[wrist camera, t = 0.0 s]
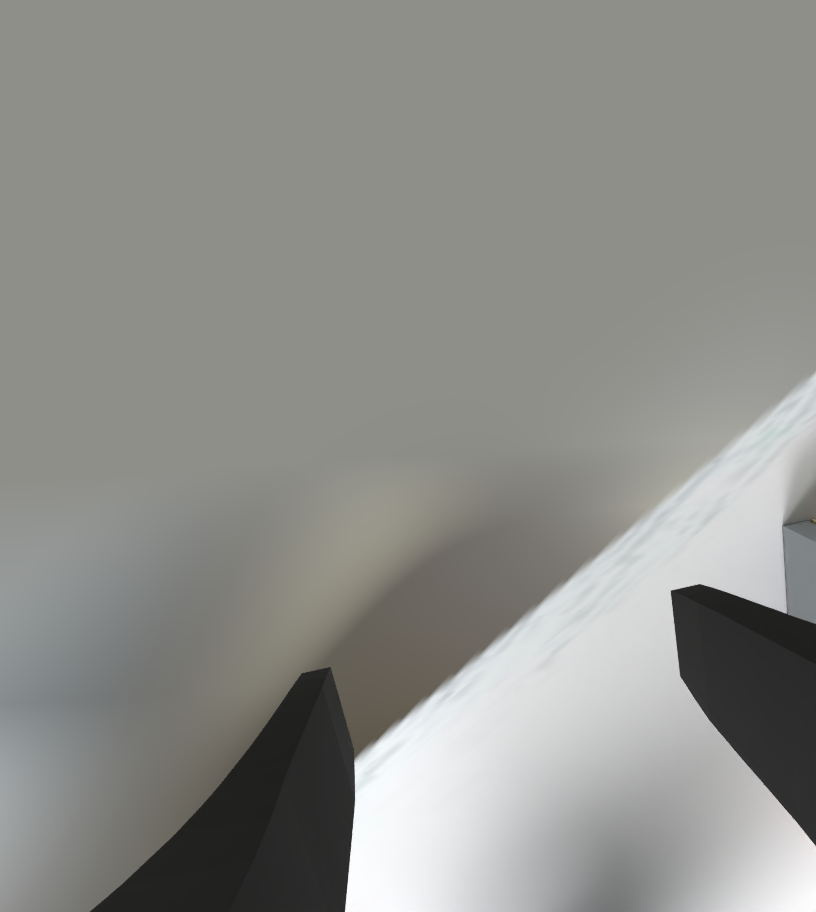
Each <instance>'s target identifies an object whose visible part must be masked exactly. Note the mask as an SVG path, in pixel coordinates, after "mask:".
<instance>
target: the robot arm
mask: <svg viewBox="0 0 816 912" xmlns="http://www.w3.org/2000/svg"><path fill="white" fill-rule="evenodd" d="M671 597H672V606H673V615H674V624H675V633H676V642H677V651H678V660H679V669H680V676H681V678H682V679H683V681H684V683H685V684H686V686H687V687H688V689H689V690H690V692H691V693H692V695H693V697H694V698H695V700H696V701H697V703H698V704H699V706H700V707H701V708H702V710H703V711H704V713H705V714H706V716H707V717H708V719H709V720H710V721H711V723H712V724H713V725H714V726H715V727H716V729H717V730H718V731H719V732H720V733H721V735H722V736H723V737H724V738H725V739H726V740H727V742H728V743H729V744H730V745H731V746H732V747H733V749H734V750H735V751H736V752H737V753H738V755H739V756H740V757H741V758H742V759H743V760H744V761H745V763H746V764H747V765H748V766H749V767H750V768H751V770H752V771H753V772H754V773H755V774H756V775H757V777H758V778H759V779H760V780H761V781H762V782H763V783H764V785H765V786H766V787H767V788H768V789H769V790H770V792H771V793H772V794H773V795H774V796H775V797H776V799H777V800H778V801H779V802H780V803H781V804H782V806H783V807H784V808H785V809H786V810H787V811H788V812H789V814H790V815H791V816H792V817H793V818H794V819H795V821H796V822H797V823H798V824H799V825H800V827H801V828H802V829H803V830H804V832H805V833H806V834H807V835H808V837H809V838H810V839H811V840H812V842H813V843H814V844H815V845H816V624H815V623H812V622H809V621H806V620H803V619H800V618H797V617H794V616H791V615H788V614H785V613H783V612H780V611H777V610H774V609H771V608H769V607H766V606H763V605H760V604H757V603H755V602H752V601H749V600H746V599H744V598H741V597H738V596H735V595H732V594H729V593H727V592H724V591H721V590H718V589H714V588H711V587H708V586H704V585H700V584H699V585H694V586H690V587H685V588H681V589H676V590H672V591H671ZM354 806H355V772H354V748H353V745H352V741H351V738H350V734H349V731H348V727H347V724H346V720H345V717H344V713H343V710H342V706H341V702H340V699H339V695H338V692H337V689H336V685H335V681H334V678H333V674H332V670H331V667H329V668H324V669H320V670H316V671H311V672H306V673H302V674H301V675H300V677H299V678H298V680H297V681H296V682H295V684H294V685H293V687H292V688H291V690H290V691H289V692H288V694H287V695H286V697H285V698H284V700H283V701H282V703H281V704H280V706H279V707H278V709H277V710H276V711H275V713H274V714H273V716H272V717H271V719H270V720H269V722H268V723H267V724H266V726H265V727H264V728H263V730H262V731H261V733H260V734H259V736H258V737H257V738H256V740H255V741H254V742H253V744H252V745H251V746H250V748H249V749H248V750H247V751H246V753H245V754H244V755H243V757H242V758H241V759H240V760H239V762H238V763H237V764H236V765H235V767H234V768H233V769H232V770H231V772H230V773H229V774H228V775H227V777H226V778H225V779H224V781H223V782H222V783H221V784H220V785H219V787H218V788H217V789H216V790H215V791H214V793H213V794H212V795H211V796H210V797H209V798H208V799H207V800H206V802H205V803H204V804H203V805H202V806H201V807H200V808H199V809H198V811H196V813H195V814H194V815H193V816H192V817H191V818H190V819H189V820H188V821H187V822H186V823H185V824H184V825H183V826H182V828H181V829H180V830H179V831H178V832H177V833H176V834H175V835H174V836H173V837H172V838H171V839H170V840H169V841H168V842H167V843H165V844H164V845H163V846H162V847H161V848H160V849H159V850H158V851H157V852H156V853H155V854H154V855H153V856H152V857H151V858H150V859H148V861H146V863H144V864H143V865H142V866H141V867H140V868H139V869H138V870H137V871H136V872H135V873H134V874H133V875H132V876H131V877H130V878H128V879H127V880H126V881H125V882H124V883H123V884H122V885H121V886H120V887H119V888H117V889H116V890H115V891H114V892H113V893H111V894H110V895H109V896H108V897H107V898H106V899H104V900H103V901H102V902H101V903H100V904H99V905H97V906H96V907H95V908H94V909H93V910H91V911H90V912H345V904H346V894H347V883H348V872H349V862H350V851H351V841H352V829H353V818H354Z"/></svg>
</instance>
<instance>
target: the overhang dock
mask: <svg viewBox="0 0 816 912" xmlns="http://www.w3.org/2000/svg"><path fill="white" fill-rule="evenodd" d="M783 539H784V556H785V574H786V591H787V608H788V615H791V616H794V617H797V618H800V619H803V620H806V621H809V622H812V623H815V624H816V519H812V523H811V522H809V521H803V522H799V523H794V524H790V525H785V526H783Z"/></svg>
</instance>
